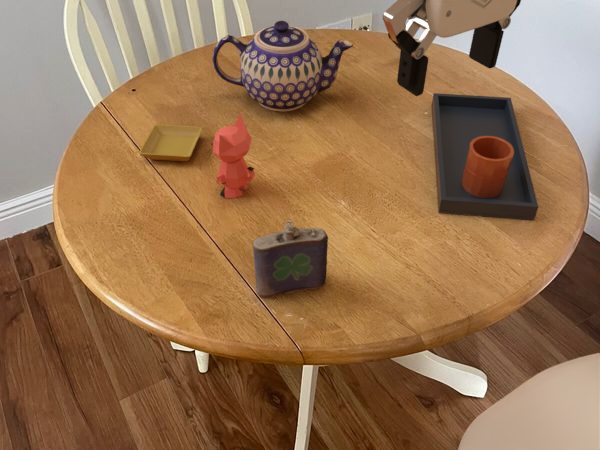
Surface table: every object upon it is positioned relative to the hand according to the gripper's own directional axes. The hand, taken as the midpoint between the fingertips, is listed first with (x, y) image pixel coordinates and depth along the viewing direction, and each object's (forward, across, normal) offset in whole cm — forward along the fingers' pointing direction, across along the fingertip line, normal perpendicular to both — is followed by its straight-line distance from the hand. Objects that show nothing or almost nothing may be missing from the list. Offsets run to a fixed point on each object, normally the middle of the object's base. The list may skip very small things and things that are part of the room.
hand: (446, 75), depth 59 cm
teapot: (+28, +8, +46) cm, 55 cm away
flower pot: (+28, +20, +7) cm, 35 cm away
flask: (+28, -15, +6) cm, 33 cm away
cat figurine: (+28, -12, +27) cm, 41 cm away
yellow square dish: (+28, -16, +42) cm, 53 cm away
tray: (+28, +25, +13) cm, 40 cm away
